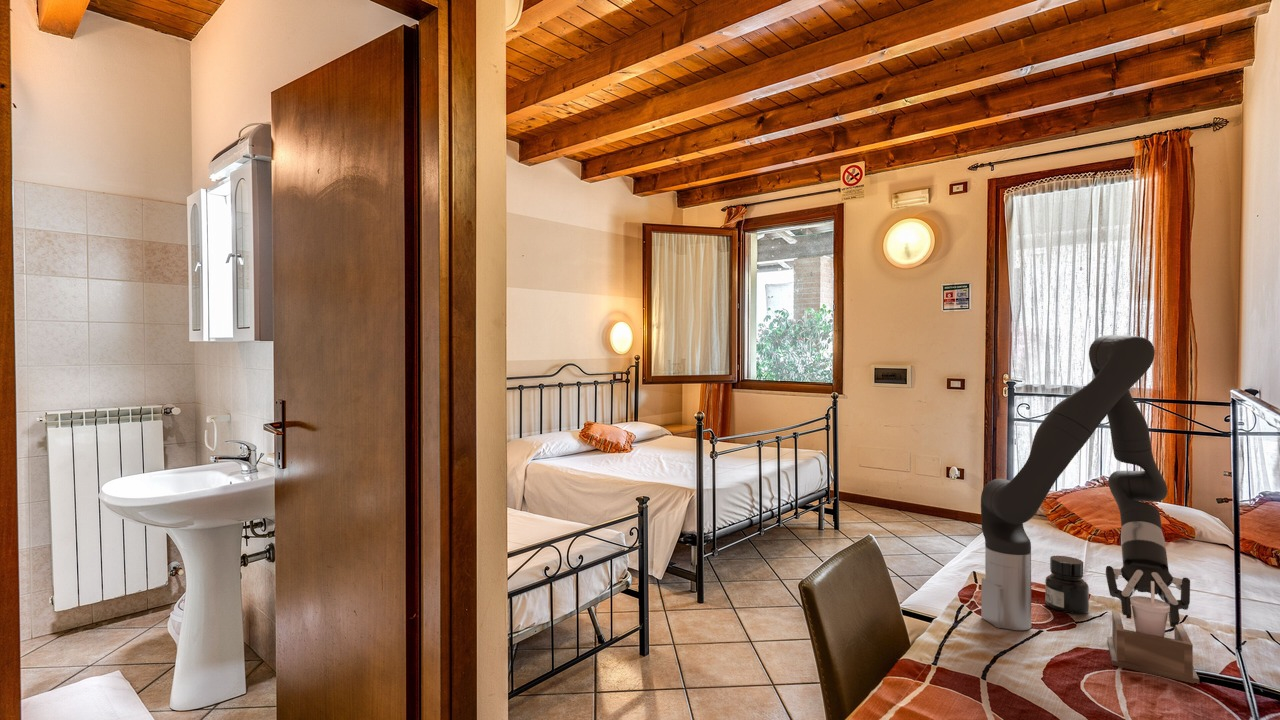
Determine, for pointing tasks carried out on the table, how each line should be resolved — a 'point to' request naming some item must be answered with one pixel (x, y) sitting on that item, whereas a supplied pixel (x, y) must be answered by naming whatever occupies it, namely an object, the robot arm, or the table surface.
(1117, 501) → the robot arm
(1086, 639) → the table surface
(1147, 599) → the smoothie
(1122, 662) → the bottle stand
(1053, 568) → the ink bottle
